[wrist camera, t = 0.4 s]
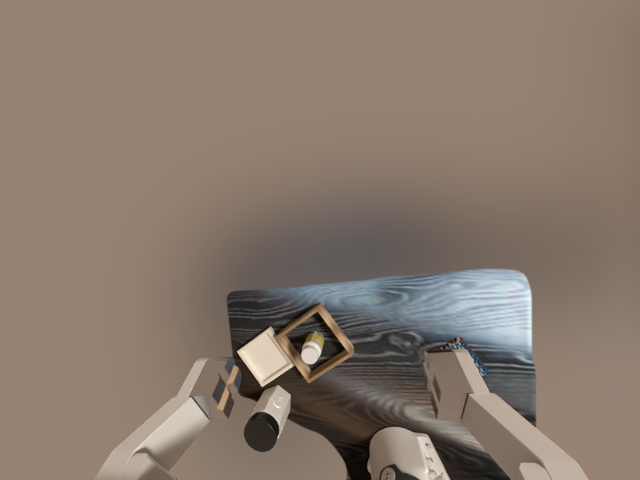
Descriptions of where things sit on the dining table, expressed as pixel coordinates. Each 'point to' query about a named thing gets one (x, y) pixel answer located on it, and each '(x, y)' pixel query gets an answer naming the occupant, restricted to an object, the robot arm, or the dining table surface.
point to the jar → (267, 419)
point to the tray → (265, 357)
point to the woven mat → (463, 345)
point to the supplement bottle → (312, 347)
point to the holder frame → (297, 358)
